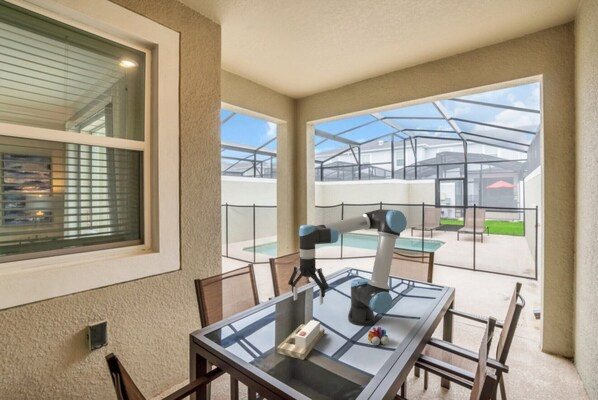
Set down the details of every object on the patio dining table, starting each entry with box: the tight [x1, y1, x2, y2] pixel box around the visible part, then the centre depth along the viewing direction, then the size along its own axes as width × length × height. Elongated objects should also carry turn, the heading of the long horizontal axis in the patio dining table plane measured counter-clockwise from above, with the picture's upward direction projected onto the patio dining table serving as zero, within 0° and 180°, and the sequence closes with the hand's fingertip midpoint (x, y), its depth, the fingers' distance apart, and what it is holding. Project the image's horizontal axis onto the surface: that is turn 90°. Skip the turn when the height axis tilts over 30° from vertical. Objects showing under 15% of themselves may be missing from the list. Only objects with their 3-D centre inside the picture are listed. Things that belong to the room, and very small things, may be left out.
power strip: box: [295, 319, 321, 349], centre depth 133 cm, size 5×18×8 cm, turn 154°
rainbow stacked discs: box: [367, 326, 390, 346], centre depth 135 cm, size 8×10×7 cm
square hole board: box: [276, 323, 326, 360], centre depth 135 cm, size 13×26×2 cm, turn 154°
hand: (308, 301), depth 134 cm, fingers open, 13 cm apart
